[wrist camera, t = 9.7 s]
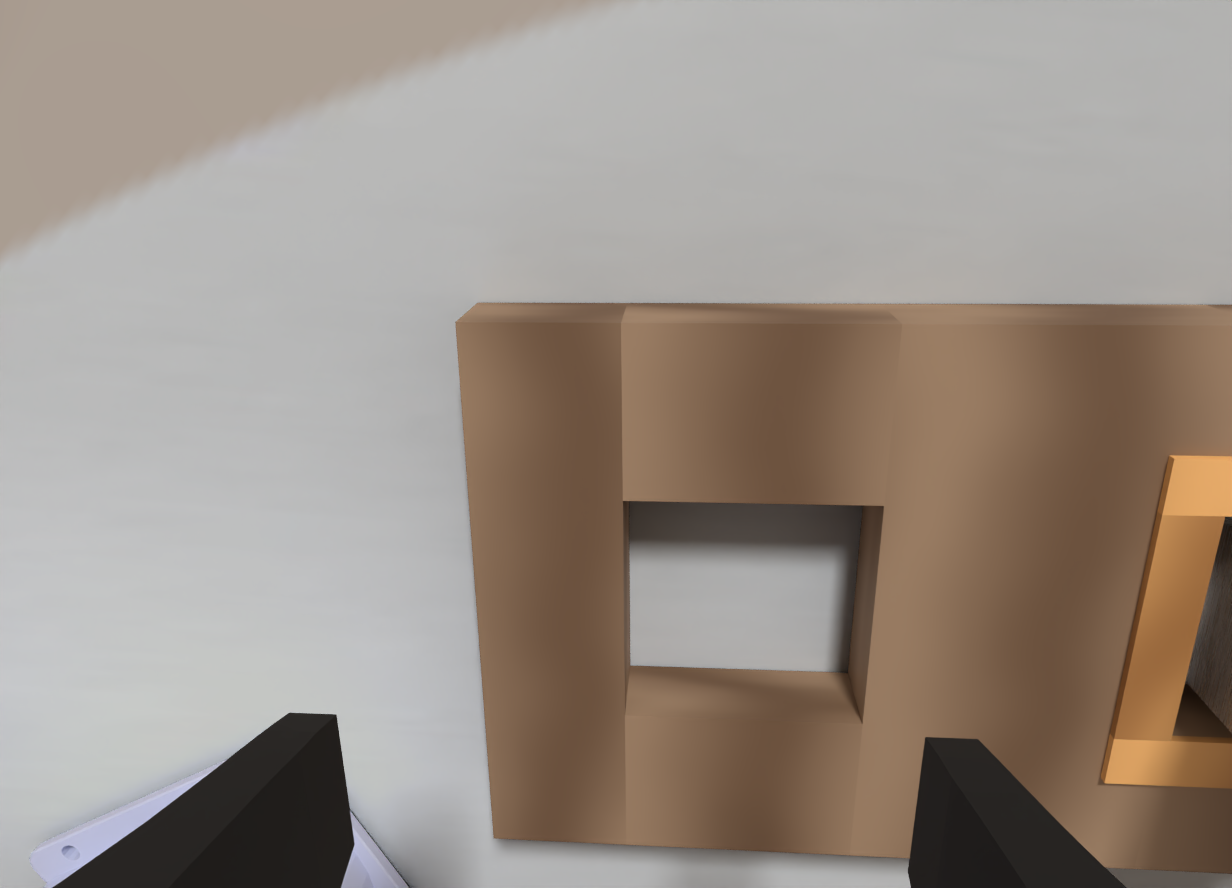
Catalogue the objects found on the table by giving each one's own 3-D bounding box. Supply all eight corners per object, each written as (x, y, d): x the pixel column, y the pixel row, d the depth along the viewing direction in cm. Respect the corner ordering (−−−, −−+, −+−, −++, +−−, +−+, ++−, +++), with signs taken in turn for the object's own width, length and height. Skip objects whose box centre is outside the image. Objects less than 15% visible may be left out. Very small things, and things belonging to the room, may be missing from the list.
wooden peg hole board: (508, 782, 24) (492, 844, 22) (477, 302, 20) (452, 324, 18) (1459, 823, 22) (1538, 895, 20) (1661, 305, 18) (1788, 330, 16)
